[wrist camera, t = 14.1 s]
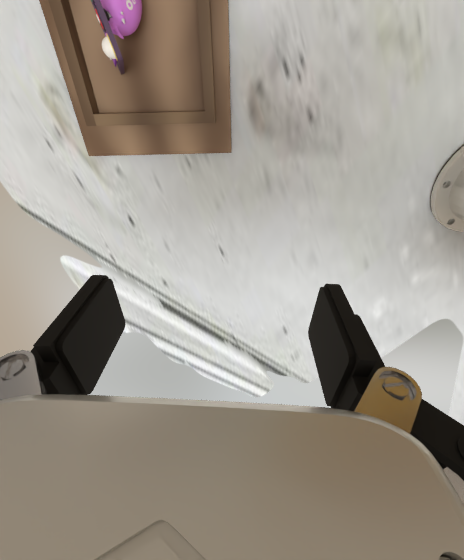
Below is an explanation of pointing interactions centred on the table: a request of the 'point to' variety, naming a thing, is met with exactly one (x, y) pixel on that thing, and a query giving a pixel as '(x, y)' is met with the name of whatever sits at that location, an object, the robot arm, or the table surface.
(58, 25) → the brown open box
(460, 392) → the table surface
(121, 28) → the purple figure with panel
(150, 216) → the table surface
